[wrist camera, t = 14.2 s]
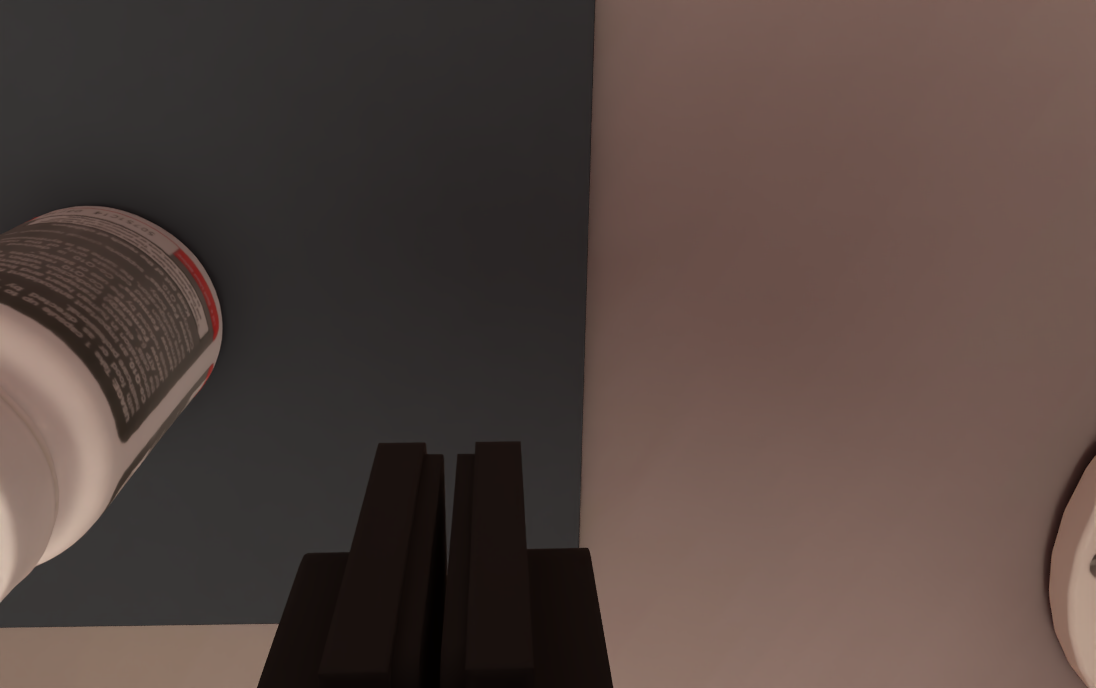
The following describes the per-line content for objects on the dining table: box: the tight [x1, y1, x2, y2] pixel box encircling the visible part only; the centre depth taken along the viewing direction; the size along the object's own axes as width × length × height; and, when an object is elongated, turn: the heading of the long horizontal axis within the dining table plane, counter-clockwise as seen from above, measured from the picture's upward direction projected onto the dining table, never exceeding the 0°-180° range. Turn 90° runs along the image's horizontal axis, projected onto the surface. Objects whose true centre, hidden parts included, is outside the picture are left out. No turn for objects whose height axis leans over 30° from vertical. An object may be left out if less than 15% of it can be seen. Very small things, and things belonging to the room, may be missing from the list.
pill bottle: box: [0, 206, 223, 602], centre depth 15 cm, size 5×5×8 cm
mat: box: [0, 0, 595, 628], centre depth 20 cm, size 20×16×1 cm
